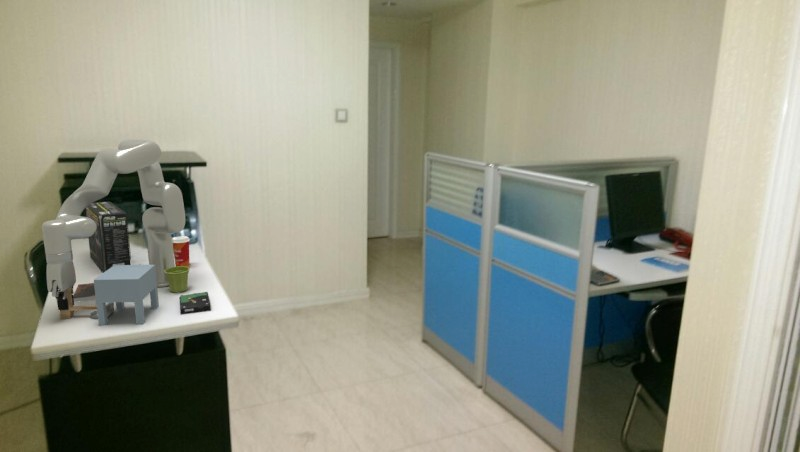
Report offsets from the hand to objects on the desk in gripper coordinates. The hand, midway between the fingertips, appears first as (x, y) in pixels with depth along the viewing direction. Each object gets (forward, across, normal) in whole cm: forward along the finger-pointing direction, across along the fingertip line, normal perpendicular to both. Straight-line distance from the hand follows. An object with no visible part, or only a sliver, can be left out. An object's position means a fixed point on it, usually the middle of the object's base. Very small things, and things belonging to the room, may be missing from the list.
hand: (66, 307), depth 179 cm
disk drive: (+4, -8, +40) cm, 41 cm away
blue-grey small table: (+3, 0, +21) cm, 21 cm away
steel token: (+4, 0, +10) cm, 11 cm away
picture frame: (+4, -25, +3) cm, 26 cm away
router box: (+4, -62, -11) cm, 63 cm away
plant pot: (+4, -25, +30) cm, 39 cm away
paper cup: (+4, -55, +23) cm, 60 cm away
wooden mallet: (+3, 0, +6) cm, 7 cm away
